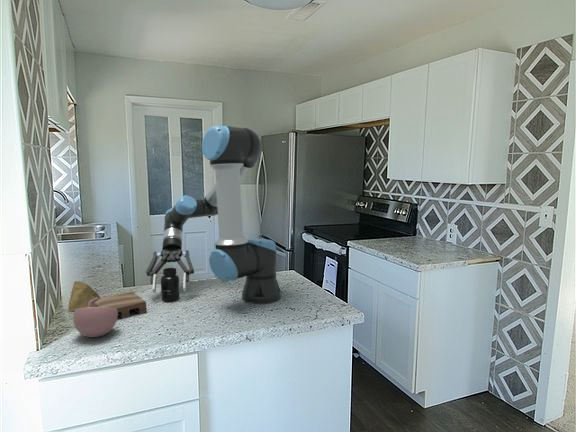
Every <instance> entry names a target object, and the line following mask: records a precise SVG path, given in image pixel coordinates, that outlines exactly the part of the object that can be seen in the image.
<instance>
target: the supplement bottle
mask: <svg viewBox="0 0 576 432" xmlns="http://www.w3.org/2000/svg"><path fill="white" fill-rule="evenodd" d="M162 270H163V271H162V275H163V276H161V278H160V297H161V298H160V299H161V301H162V302H163V303H164V302H165V303H173V301H174V302H177V301H178V300H180V291H181V290H180V277H179V276H178V275H177V273H178V272H177V268H175V267H166V268H164V269H163V268H162ZM176 300H177V301H176Z"/></svg>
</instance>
